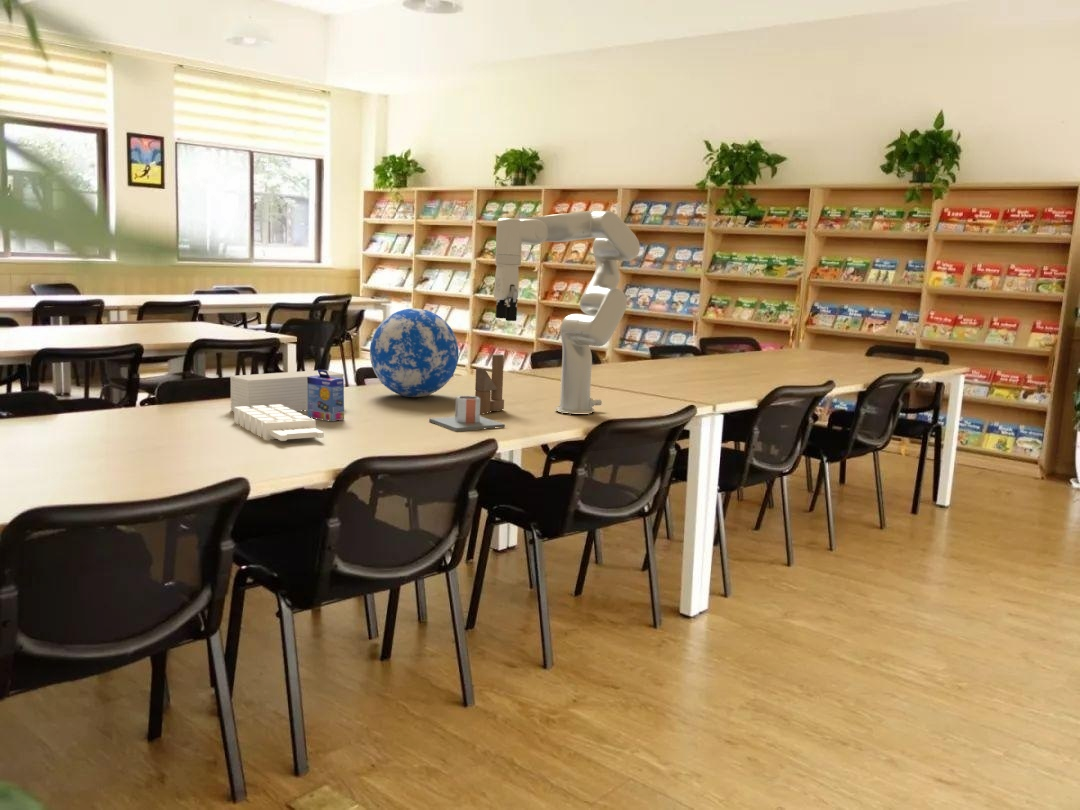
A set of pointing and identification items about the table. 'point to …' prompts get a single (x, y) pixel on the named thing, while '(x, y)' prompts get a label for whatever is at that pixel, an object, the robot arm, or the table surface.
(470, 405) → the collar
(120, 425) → the table surface
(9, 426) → the table surface
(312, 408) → the ink cartridge box
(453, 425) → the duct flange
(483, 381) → the wooden block
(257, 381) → the stack of papers
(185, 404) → the table surface
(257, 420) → the organizer
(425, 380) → the decorative globe
